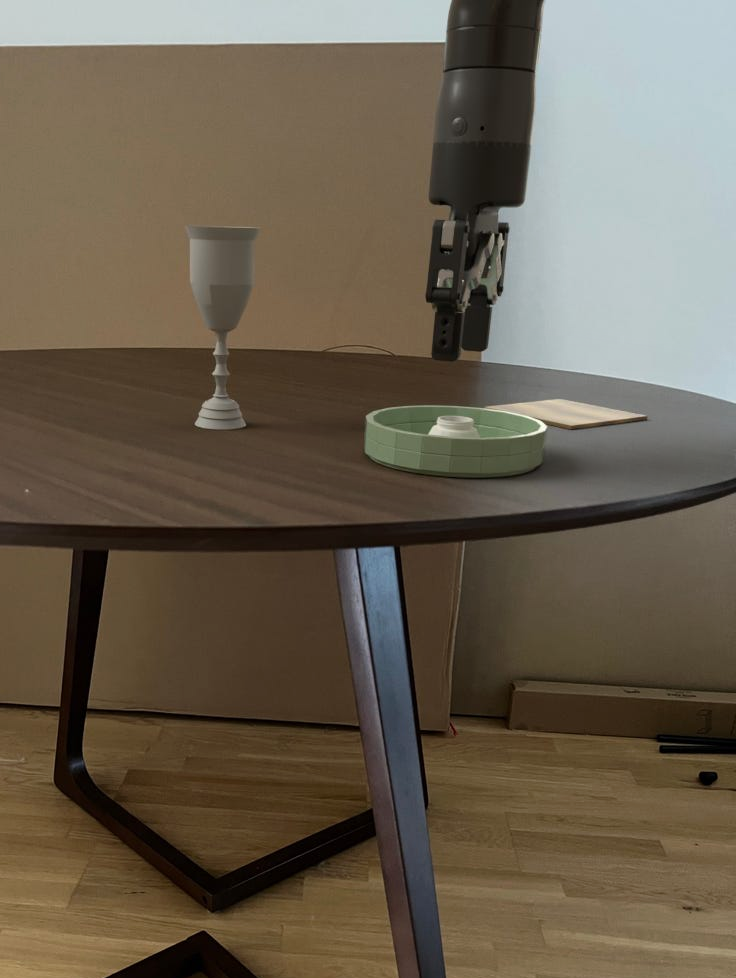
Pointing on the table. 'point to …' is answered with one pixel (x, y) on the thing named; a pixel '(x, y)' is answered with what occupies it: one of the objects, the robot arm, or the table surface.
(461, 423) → the white jar
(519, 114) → the robot arm
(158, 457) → the table surface
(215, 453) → the table surface
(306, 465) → the table surface
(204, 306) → the chalice
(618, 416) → the mat
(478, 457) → the pan
